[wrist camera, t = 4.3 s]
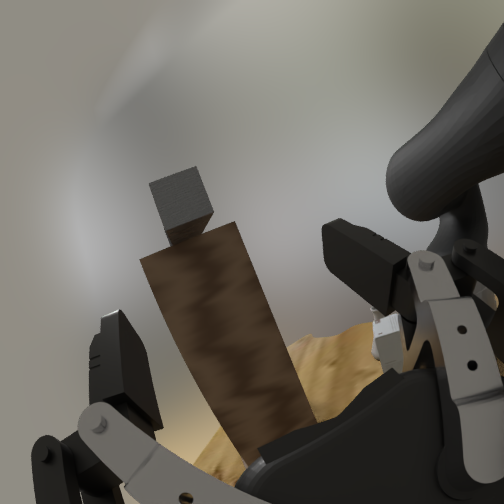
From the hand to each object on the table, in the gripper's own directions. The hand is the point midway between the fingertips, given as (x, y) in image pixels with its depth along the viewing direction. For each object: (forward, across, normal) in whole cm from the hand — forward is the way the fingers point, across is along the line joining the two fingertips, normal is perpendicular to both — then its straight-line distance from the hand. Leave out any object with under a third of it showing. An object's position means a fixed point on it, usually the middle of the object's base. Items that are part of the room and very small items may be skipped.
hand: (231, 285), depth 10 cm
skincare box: (+2, -20, +35) cm, 40 cm away
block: (+18, 0, +6) cm, 19 cm away
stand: (+6, 0, +37) cm, 37 cm away
